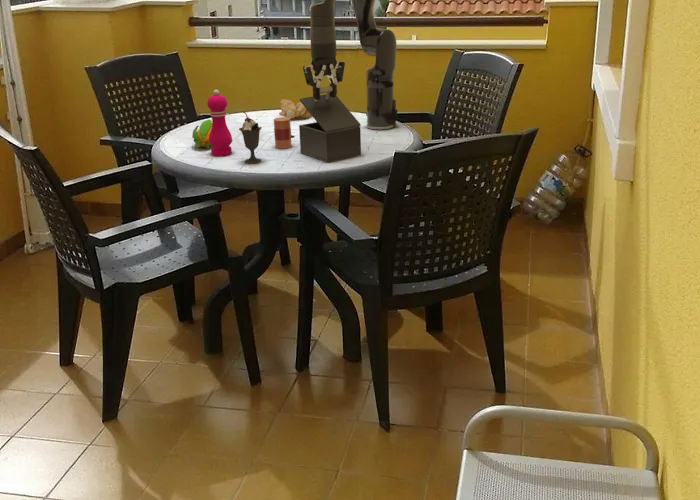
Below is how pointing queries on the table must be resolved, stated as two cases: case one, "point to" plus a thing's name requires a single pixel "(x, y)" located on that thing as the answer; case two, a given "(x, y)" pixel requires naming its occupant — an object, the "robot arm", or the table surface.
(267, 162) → the table surface
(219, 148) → the pepper mill
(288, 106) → the ginger root
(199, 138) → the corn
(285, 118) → the tin can
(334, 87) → the robot arm
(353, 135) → the open brown box
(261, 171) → the table surface
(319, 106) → the dark brown box lid
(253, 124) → the sundae
